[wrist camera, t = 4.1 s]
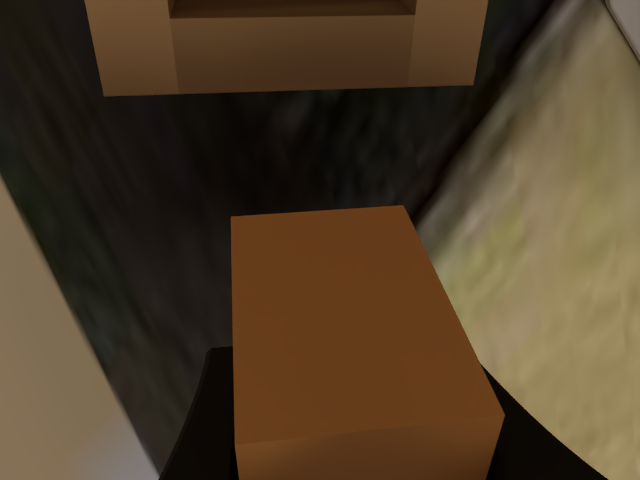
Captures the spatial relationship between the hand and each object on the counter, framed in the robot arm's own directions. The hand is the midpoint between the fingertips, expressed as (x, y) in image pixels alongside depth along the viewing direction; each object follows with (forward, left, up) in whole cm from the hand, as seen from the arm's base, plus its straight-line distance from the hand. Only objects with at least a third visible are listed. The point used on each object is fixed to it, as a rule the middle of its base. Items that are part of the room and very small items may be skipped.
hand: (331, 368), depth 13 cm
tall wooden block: (0, 0, -2) cm, 2 cm away
